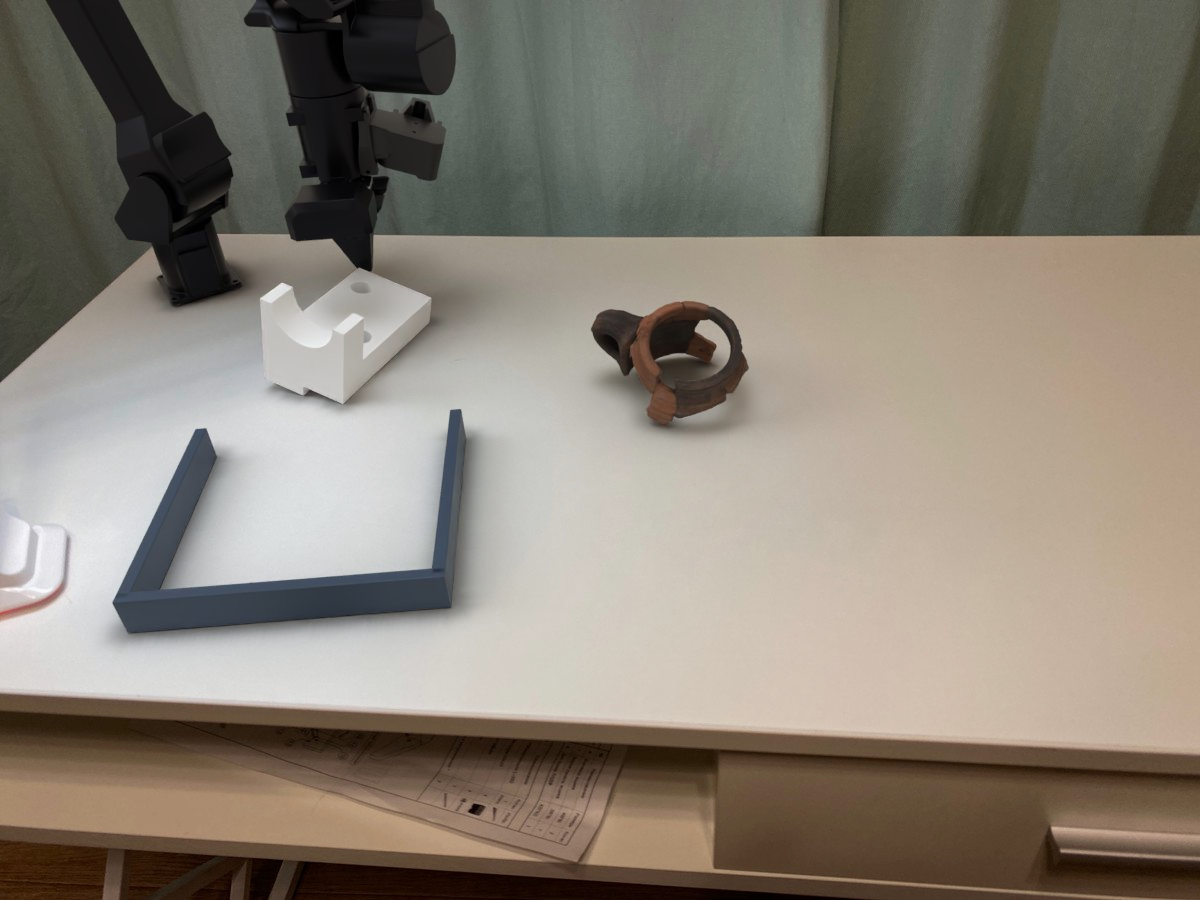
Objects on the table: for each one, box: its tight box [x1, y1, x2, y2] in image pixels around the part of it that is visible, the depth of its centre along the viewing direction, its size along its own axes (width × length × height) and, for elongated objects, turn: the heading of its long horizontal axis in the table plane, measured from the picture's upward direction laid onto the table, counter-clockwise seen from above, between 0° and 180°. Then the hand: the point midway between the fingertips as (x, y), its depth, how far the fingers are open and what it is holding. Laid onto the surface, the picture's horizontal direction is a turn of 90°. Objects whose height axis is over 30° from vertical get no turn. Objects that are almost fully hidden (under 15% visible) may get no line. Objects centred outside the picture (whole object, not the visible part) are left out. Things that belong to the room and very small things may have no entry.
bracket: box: [259, 268, 432, 405], centre depth 75 cm, size 13×7×8 cm, turn 158°
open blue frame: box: [111, 408, 467, 634], centre depth 60 cm, size 17×19×2 cm
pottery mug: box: [590, 300, 750, 426], centre depth 70 cm, size 12×10×8 cm
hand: (366, 270), depth 82 cm, fingers closed
